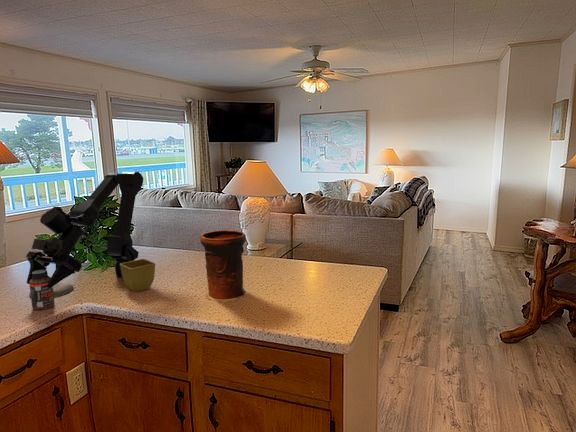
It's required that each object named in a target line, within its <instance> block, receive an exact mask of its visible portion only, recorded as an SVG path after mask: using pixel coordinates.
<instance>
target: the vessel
mask: <svg viewBox="0 0 576 432" xmlns="http://www.w3.org/2000/svg"><path fill="white" fill-rule="evenodd" d="M199 239H200V240H199V242H200V244H201V245H202V246H203V247H204V252H205V253H204V256H205V258H204V259H205V270H206V279H207V288H208V289H207V290H208V291H207V292H206V293H205V296H206V298H207V300H212V301H214V302H228V301H234V300H236V299H238V298H240V297H244V296H245V295H246V293H247V291H246V290H245V287H244V274H243V272H244V263H243V262H244V261H243V253H244V250H245V249H244V244H245V242H246V239H247V238H246V234H245V233H244V232H243V231H239V230H238V231H237V230H234V229H233V230H232V229H220V230H213V231H206V232H203V233H202V234H200V236H199Z"/></svg>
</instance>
